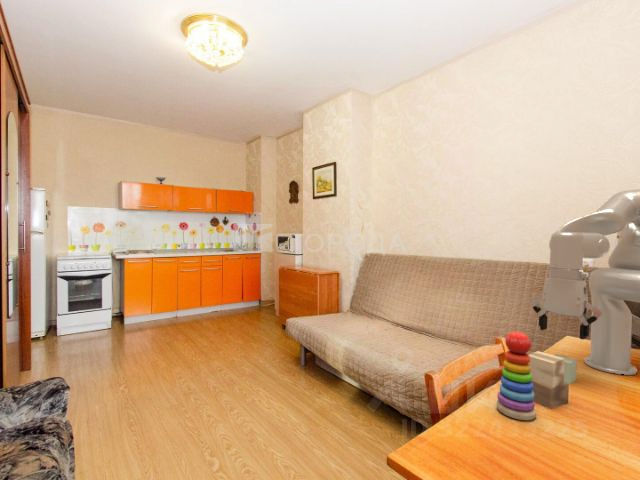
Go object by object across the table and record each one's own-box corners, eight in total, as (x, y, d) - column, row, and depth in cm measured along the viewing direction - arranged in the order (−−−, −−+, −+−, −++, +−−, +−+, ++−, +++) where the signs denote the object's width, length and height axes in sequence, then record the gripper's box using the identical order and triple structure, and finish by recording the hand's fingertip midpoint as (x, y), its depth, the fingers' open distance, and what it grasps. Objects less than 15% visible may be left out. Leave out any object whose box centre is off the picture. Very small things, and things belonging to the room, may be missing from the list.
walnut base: (539, 391, 87) (539, 372, 86) (568, 404, 80) (568, 384, 80) (521, 396, 84) (522, 377, 84) (550, 409, 77) (550, 389, 77)
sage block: (556, 373, 98) (556, 354, 97) (576, 380, 93) (576, 359, 93) (549, 377, 95) (549, 357, 95) (569, 384, 91) (570, 363, 90)
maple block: (537, 373, 86) (537, 351, 86) (563, 382, 81) (564, 358, 81) (526, 378, 83) (526, 355, 83) (552, 388, 78) (553, 363, 78)
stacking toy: (542, 424, 71) (545, 339, 71) (503, 419, 72) (505, 336, 72) (527, 405, 79) (529, 329, 78) (491, 401, 80) (493, 326, 80)
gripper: (608, 278, 89) (605, 340, 89) (537, 271, 103) (534, 325, 103) (599, 279, 84) (596, 344, 84) (526, 271, 98) (523, 327, 99)
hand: (562, 333), depth 94 cm, fingers open, 9 cm apart
